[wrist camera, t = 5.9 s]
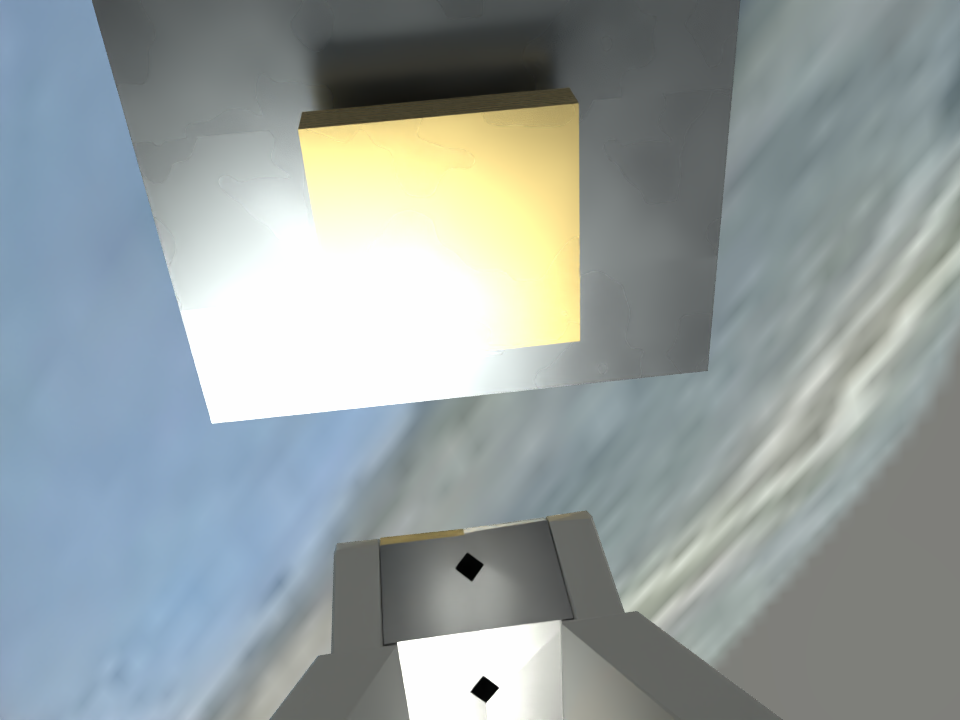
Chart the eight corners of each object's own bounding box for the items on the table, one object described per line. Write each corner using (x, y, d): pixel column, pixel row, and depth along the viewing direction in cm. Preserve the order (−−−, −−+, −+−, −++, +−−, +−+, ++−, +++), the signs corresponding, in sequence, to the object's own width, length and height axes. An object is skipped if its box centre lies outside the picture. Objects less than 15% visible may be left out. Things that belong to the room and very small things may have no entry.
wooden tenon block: (530, 200, 25) (579, 341, 19) (350, 217, 25) (340, 365, 19) (523, 12, 22) (579, 103, 16) (321, 30, 22) (298, 129, 16)
